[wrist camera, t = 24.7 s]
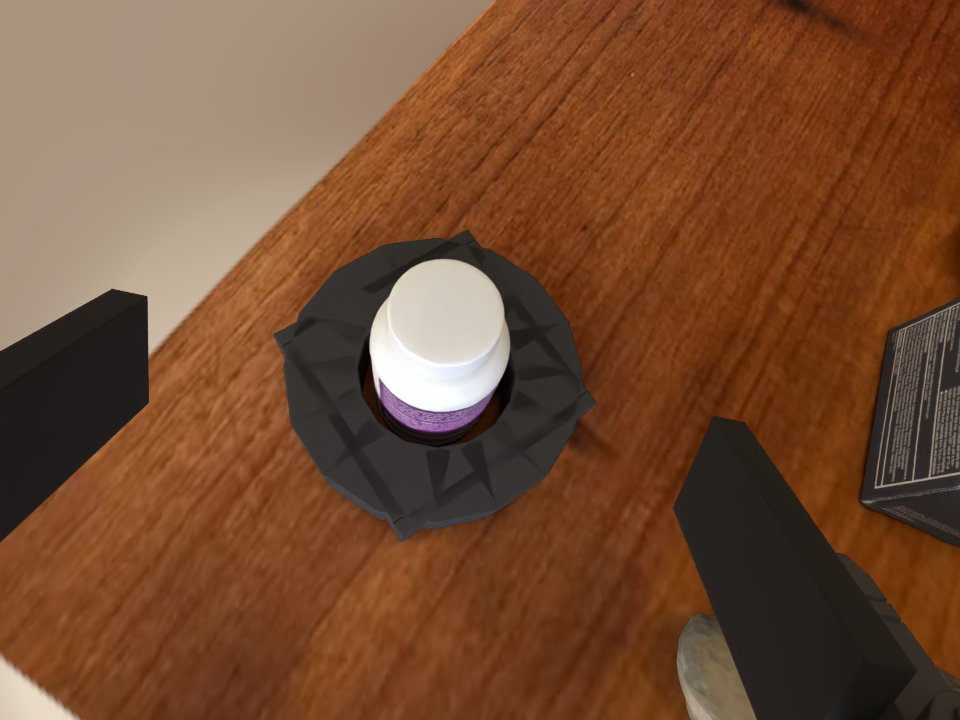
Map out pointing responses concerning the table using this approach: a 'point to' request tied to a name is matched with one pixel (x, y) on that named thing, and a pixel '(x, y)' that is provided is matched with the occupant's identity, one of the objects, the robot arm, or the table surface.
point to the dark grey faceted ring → (416, 467)
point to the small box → (919, 426)
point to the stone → (719, 673)
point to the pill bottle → (438, 351)
